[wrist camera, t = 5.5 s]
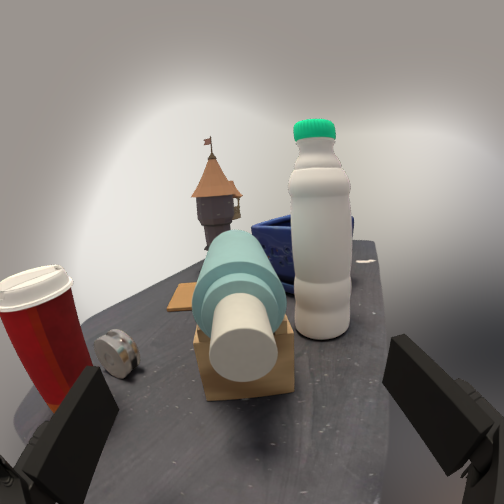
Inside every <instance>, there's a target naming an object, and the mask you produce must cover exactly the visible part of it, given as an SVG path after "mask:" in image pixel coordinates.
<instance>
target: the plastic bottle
mask: <svg viewBox="0 0 504 504" xmlns="http://www.w3.org/2000/svg"><path fill="white" fill-rule="evenodd" d="M286 306H287V300H286V294H285V290H284V288H283V286H282V284H281V282H280V280H279V278H278V276H277V274H276V272H275V271H274V269H273V267H272V265H271V263H270V261H269V259H268V257H267V256H266V254H265V252H264V250H263V248H262V246H261V244H260V243H259V241H258V240H257V239H256V238H255V237H254V236H253V235H251V234H250V233H248V232H245V231H242V230H229V231H225V232H223V233H221V234H220V235H218V236H217V237H216V238H215V239H214V240H213V241H212V243H211V245H210V247H209V250H208V252H207V255H206V258H205V261H204V264H203V266H202V269H201V272H200V275H199V278H198V281H197V284H196V287H195V289H194V292H193V296H192V312H193V316H194V318H195V321H196V323H197V325H198V326H199V328H200V329H201V330H202V331H203V332H204V333H205V334H206V335H207V336H208V337H209V338H211V341H210V350H209V359H210V363H211V365H212V367H213V368H214V370H215V371H216V372H217V373H218V374H220V375H221V376H222V377H224V378H226V379H229V380H232V381H237V382H248V381H253V380H257V379H259V378H261V377H263V376H265V375H266V374H267V373H269V372H270V371H271V370H272V368H273V367H274V365H275V363H276V361H277V357H278V350H277V346H276V342H275V339H274V336H273V333H274V332H275V331H276V330H277V329H278V327H279V326H280V324H281V323H282V321H283V319H284V316H285V313H286Z"/></svg>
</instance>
